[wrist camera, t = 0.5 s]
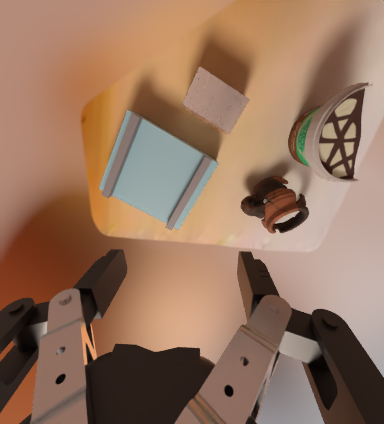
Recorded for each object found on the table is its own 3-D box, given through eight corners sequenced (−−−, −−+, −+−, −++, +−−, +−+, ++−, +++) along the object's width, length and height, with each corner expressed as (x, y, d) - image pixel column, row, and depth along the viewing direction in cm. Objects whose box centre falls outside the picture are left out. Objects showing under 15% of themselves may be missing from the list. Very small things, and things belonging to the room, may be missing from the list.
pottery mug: (296, 171, 35) (326, 201, 29) (276, 205, 42) (297, 234, 36) (238, 175, 32) (258, 209, 27) (227, 211, 40) (241, 243, 34)
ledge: (138, 113, 32) (123, 107, 26) (216, 160, 34) (219, 164, 28) (111, 182, 37) (94, 190, 31) (181, 219, 39) (177, 233, 33)
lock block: (200, 79, 30) (199, 65, 24) (240, 106, 31) (249, 99, 25) (185, 110, 31) (182, 103, 26) (224, 134, 33) (229, 133, 27)
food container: (280, 105, 30) (315, 90, 21) (320, 97, 30) (374, 78, 20) (281, 178, 35) (310, 192, 25) (315, 172, 34) (358, 184, 25)
